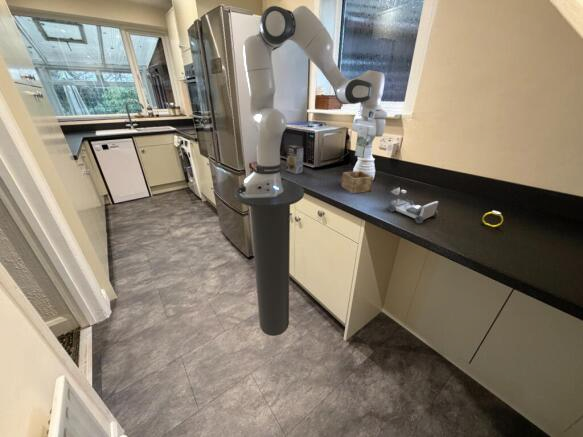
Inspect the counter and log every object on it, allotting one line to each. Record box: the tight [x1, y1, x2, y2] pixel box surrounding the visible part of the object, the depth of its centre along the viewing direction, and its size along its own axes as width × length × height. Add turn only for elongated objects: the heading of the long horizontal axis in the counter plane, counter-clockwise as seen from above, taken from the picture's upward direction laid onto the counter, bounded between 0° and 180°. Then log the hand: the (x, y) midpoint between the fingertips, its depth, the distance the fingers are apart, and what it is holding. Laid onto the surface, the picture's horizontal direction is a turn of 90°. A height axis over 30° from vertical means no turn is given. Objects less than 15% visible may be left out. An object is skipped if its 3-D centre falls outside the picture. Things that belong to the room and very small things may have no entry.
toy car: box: [388, 186, 439, 224], centre depth 98 cm, size 18×10×12 cm
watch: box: [481, 210, 504, 228], centre depth 90 cm, size 6×3×6 cm, turn 48°
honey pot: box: [352, 146, 376, 181], centre depth 138 cm, size 13×13×18 cm
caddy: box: [340, 171, 374, 194], centre depth 123 cm, size 11×11×8 cm
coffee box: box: [286, 144, 304, 175], centre depth 148 cm, size 9×6×16 cm
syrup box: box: [354, 125, 374, 158], centre depth 112 cm, size 6×6×14 cm
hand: (364, 143), depth 112 cm, fingers closed on syrup box, 6 cm apart
